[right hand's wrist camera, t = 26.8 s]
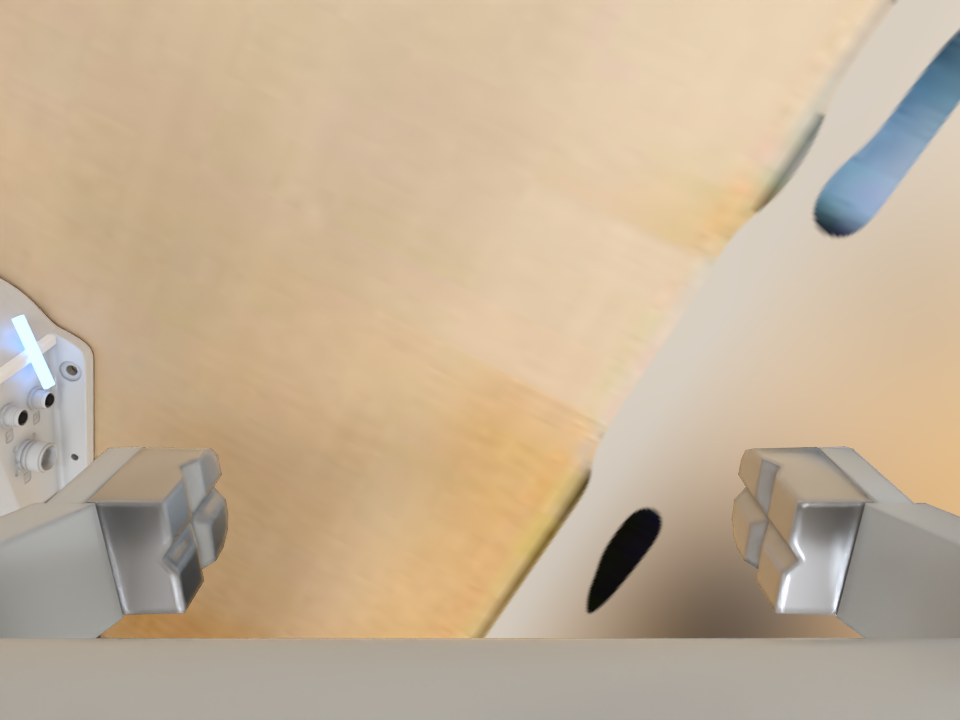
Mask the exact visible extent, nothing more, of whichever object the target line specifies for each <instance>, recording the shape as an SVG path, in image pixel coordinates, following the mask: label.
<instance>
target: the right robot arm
mask: <svg viewBox="0 0 960 720" xmlns="http://www.w3.org/2000/svg"><path fill="white" fill-rule="evenodd" d="M72 366H74V367H76V369H77V372H76V371H74V370H73V369H72ZM221 475H222V474H221V469H220V464H219V459H218V455H217V454H216V453H215V452H214V451H213V449H211V448H157V447H149V448H146V447H116V448H108V449H107V450H105V451H104V452H103V453H102V454H101V455H100V456H99V457H98V458H96V459H95V460H94V385H93V353H92V350H91V349H90V347H89V346H88V345H87V344H86V343H85V342H84V341H82V340H81V339H79V338H78V337H76V336H75V335H73V334H71V333H69V332H67V331H66V330H64V329H62V328H60V327H58V326H57V325H56V324H54V323H53V322H52V321H51V320H50V319H49V318H48V317H47V316H46V315H45V314H44V313H43V312H42V311H41V309H40V308H39V307H38V306H37V305H36V304H35V303H34V302H33V301H32V300H31V299H30V298H28V297H27V296H26V295H25V294H24V293H22V292H21V291H20V290H19V289H17V288H16V287H14V286H13V285H11V284H10V283H8V282H6V281H5V280H3V279H1V278H0V720H960V517H959V516H957V515H954V514H951V513H949V512H946V511H944V510H941V509H939V508H936V507H934V506H931V505H929V504H926V503H914V502H912V501H911V500H910V499H909V498H908V497H907V496H906V495H904V494H903V493H902V492H901V491H900V490H899V489H898V488H897V487H895V486H894V485H893V484H892V483H891V482H890V481H889V480H888V479H886V478H885V477H884V476H883V475H882V474H881V473H880V472H878V471H877V470H876V469H875V468H874V467H873V466H872V465H871V464H869V463H868V462H867V461H866V460H865V459H864V458H863V457H862V456H860V455H859V454H858V453H857V452H856V451H855V450H854V449H851V448H848V447H844V446H843V447H822V448H817V447H802V448H760V449H749V450H745V452H744V454H743V457H742V459H741V463H740V468H739V476H740V478H741V479H742V481H743V482H744V484H745V486H746V488H745V489H744V490H743V491H742V492H741V493H740V494H739V495H738V496H737V497H736V498H735V499H734V505H733V513H732V526H733V536H734V539H735V543H736V546H737V549H738V551H739V552H740V554H741V556H742V558H743V559H744V561H746V562H748V563H749V564H751V565H753V566H754V567H756V568H757V569H758V573H757V578H756V581H757V583H758V585H759V586H760V588H761V590H762V591H763V593H764V595H765V596H766V598H767V600H768V601H769V603H770V605H771V606H772V608H773V609H774V611H775V613H790V614H827V615H837V618H838V619H839V620H841V621H842V622H843V623H845V624H846V625H847V626H849V627H850V628H852V629H853V630H854V631H856V632H857V633H858V634H860V635H861V636H862V637H864V638H98V636H99V635H101V634H102V633H103V632H105V631H106V630H107V629H109V628H110V627H111V626H113V625H114V624H115V623H117V622H118V621H120V620H121V619H122V618H123V615H133V614H169V613H185V611H186V610H187V608H188V606H189V605H190V603H191V601H192V600H193V598H194V596H195V595H196V593H197V591H198V590H199V588H200V586H201V585H202V583H203V581H204V578H203V572H202V569H203V568H204V567H206V566H208V565H209V564H211V563H212V562H214V561H216V559H217V558H218V556H219V554H220V552H221V550H222V549H223V546H224V542H225V538H226V534H227V530H228V511H227V504H226V499H225V498H224V497H223V496H222V495H221V494H220V493H219V492H218V491H217V490H216V489H215V488H214V486H215V484H216V483H217V481H218V479H219V478H220V476H221Z"/></svg>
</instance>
